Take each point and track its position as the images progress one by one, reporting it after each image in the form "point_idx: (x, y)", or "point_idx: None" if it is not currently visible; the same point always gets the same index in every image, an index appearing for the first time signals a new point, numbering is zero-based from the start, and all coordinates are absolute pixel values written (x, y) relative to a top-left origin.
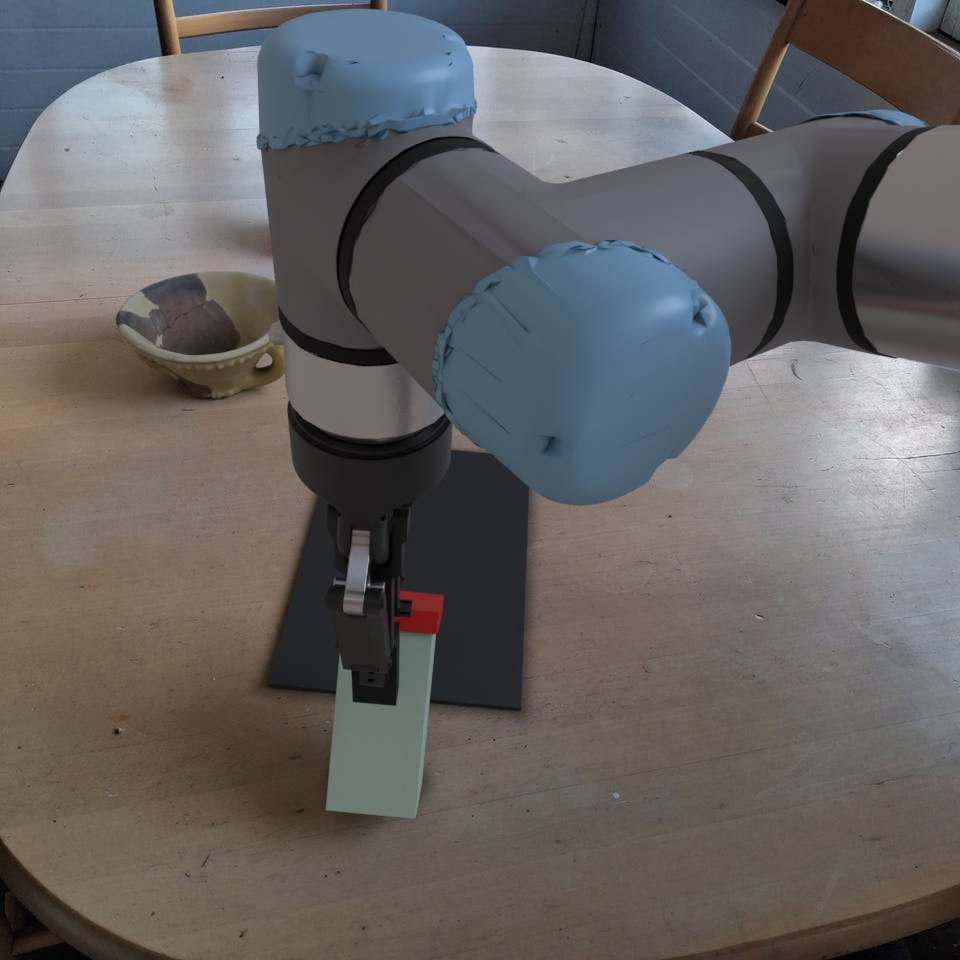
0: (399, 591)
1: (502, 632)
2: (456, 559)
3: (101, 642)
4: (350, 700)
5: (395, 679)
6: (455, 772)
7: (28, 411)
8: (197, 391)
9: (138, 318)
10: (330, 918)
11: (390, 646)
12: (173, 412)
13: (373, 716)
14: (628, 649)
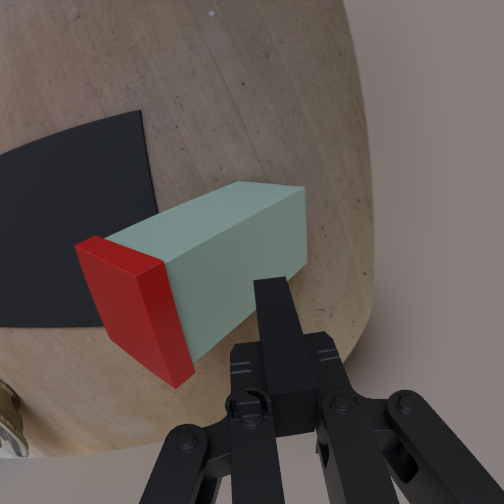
0: (240, 448)
1: (66, 150)
2: (17, 214)
3: (188, 403)
4: (246, 303)
5: (296, 314)
6: (219, 154)
7: (79, 449)
8: (16, 400)
9: (12, 446)
10: (354, 224)
11: (365, 411)
12: (33, 405)
13: (254, 272)
14: (59, 37)
